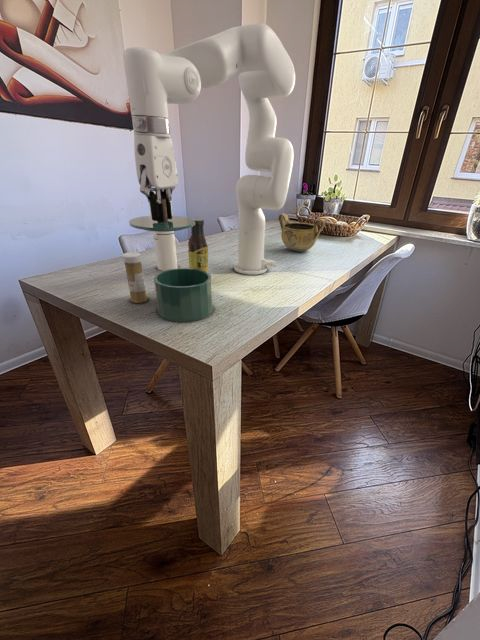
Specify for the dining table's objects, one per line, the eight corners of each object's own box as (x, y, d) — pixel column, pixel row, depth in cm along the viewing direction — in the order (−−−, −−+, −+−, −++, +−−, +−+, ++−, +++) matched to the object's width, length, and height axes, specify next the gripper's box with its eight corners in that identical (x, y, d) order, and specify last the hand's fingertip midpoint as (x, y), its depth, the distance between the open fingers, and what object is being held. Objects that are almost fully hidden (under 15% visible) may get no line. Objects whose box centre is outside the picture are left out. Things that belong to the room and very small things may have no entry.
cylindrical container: (172, 271, 112) (164, 195, 98) (154, 269, 113) (143, 193, 99) (180, 265, 118) (174, 192, 104) (163, 263, 119) (154, 191, 105)
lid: (197, 221, 85) (195, 196, 81) (192, 234, 72) (190, 205, 68) (138, 219, 83) (133, 193, 79) (122, 232, 70) (116, 202, 66)
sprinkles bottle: (128, 300, 90) (118, 253, 82) (142, 296, 93) (134, 250, 85) (136, 305, 87) (127, 257, 80) (150, 300, 90) (143, 254, 83)
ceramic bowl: (326, 251, 147) (332, 217, 139) (311, 258, 135) (317, 222, 127) (285, 242, 157) (288, 210, 149) (268, 249, 144) (270, 214, 136)
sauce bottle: (200, 286, 101) (196, 222, 91) (186, 282, 104) (180, 219, 93) (213, 281, 106) (210, 219, 95) (199, 277, 109) (195, 216, 98)
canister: (213, 299, 93) (212, 268, 88) (210, 322, 81) (209, 288, 76) (163, 298, 92) (159, 267, 87) (153, 322, 80) (148, 287, 74)
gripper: (144, 126, 59) (157, 227, 69) (186, 131, 72) (191, 216, 82) (110, 124, 61) (128, 223, 71) (157, 130, 74) (166, 213, 84)
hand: (162, 219), depth 76 cm, fingers closed on lid, 2 cm apart
